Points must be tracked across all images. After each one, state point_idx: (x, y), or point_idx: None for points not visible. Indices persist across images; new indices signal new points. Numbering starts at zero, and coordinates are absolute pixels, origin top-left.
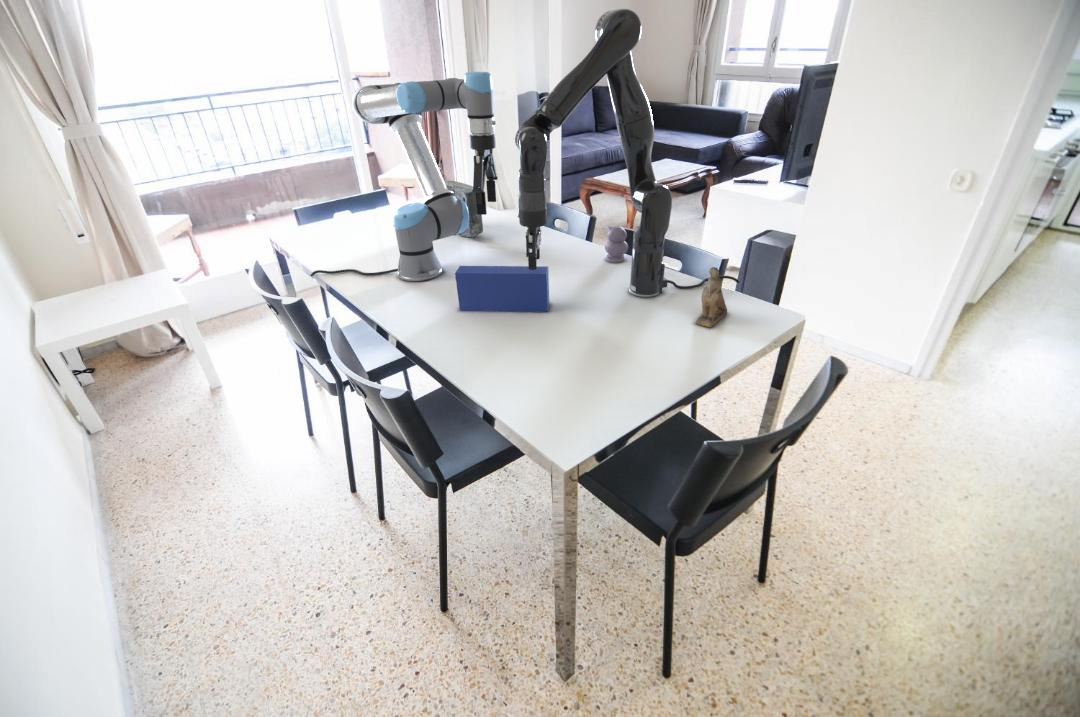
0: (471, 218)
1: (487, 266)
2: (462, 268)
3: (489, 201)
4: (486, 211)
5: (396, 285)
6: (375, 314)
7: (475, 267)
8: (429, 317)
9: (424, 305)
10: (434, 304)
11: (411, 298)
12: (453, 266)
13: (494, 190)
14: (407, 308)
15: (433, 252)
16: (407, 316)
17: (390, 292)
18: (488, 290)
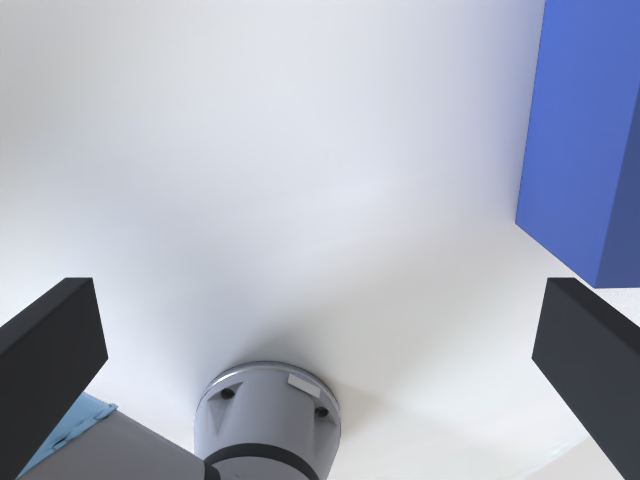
0: None
1: (633, 148)
2: (635, 268)
3: (103, 343)
4: (559, 289)
5: (367, 452)
6: (570, 440)
7: (635, 209)
8: (617, 301)
9: (523, 339)
10: (519, 313)
11: (467, 388)
12: (189, 339)
13: (4, 363)
14: (540, 377)
15: (248, 433)
16: None
17: (420, 451)
18: None
